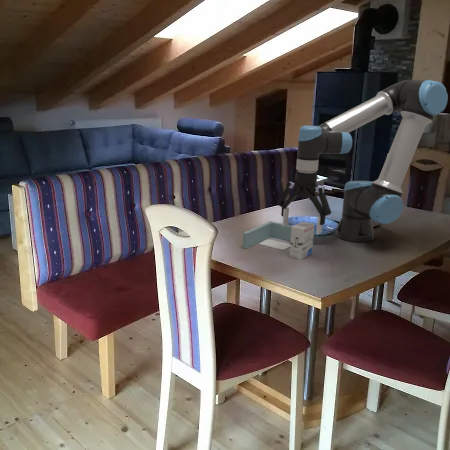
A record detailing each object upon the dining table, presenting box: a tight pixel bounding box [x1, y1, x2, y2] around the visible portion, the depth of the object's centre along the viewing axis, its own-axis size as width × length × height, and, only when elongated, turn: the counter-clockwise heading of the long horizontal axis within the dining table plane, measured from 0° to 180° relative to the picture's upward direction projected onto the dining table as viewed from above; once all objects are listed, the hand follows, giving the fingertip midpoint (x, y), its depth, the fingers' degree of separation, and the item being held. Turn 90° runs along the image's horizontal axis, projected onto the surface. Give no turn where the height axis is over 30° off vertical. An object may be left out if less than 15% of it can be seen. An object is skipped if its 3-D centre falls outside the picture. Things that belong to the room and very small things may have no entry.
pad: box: [258, 238, 290, 251], centre depth 195 cm, size 11×7×1 cm, turn 54°
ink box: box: [289, 221, 315, 261], centre depth 183 cm, size 9×5×12 cm, turn 141°
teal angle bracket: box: [242, 220, 315, 249], centre depth 193 cm, size 20×20×6 cm
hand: (301, 229), depth 182 cm, fingers open, 13 cm apart
